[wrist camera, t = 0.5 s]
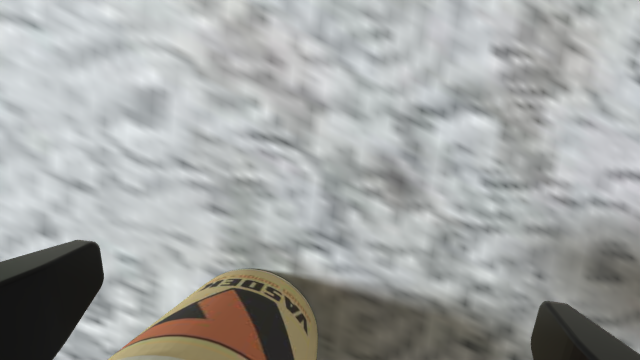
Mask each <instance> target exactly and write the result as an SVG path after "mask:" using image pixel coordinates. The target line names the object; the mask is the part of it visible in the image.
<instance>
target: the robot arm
mask: <svg viewBox="0 0 640 360" xmlns="http://www.w3.org/2000/svg"><path fill="white" fill-rule="evenodd" d="M103 280H104V273H103V266H102V259H101V253H100V248H99V246H98V244H97V243H95V242H92V241H84V240H75V241H71V242H68V243H64V244H61V245H57V246H54V247H50V248H47V249H44V250H40V251H37V252H33V253H30V254H26V255H23V256H19V257H16V258H12V259H9V260H6V261H2V262H0V360H53V359H54V357H55V356H56V355H57V353H58V352H59V351H60V349H61V348H62V346H63V345H64V344H65V342H66V341H67V339H68V338H69V336H70V335H71V333H72V331H73V330H74V328H75V327H76V325H77V324H78V322H79V321H80V319H81V317H82V316H83V314H84V313H85V311H86V310H87V308H88V307H89V305H90V303H91V302H92V300H93V299H94V297H95V296H96V294H97V293H98V291H99V289H100V288H101V286H102V283H103ZM531 350H532V355H533V360H640V354H638V353H637V352H635V351H634V350H633V349H631V348H630V347H628V346H627V345H625V344H624V343H623V342H621V341H620V340H618V339H617V338H615V337H614V336H612V335H611V334H610V333H608V332H607V331H605V330H604V329H602V328H601V327H600V326H598V325H597V324H595V323H594V322H592V321H591V320H590V319H588V318H587V317H585V316H584V315H582V314H581V313H579V312H578V311H577V310H575V309H574V308H572V307H571V306H569V305H568V304H565V303H558V302H551V301H545V302H543V303H542V304H541V306H540V308H539V311H538V315H537V318H536V322H535V325H534V329H533V333H532V337H531Z"/></svg>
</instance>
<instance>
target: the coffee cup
mask: <svg viewBox="0 0 640 360" xmlns="http://www.w3.org/2000/svg"><path fill="white" fill-rule="evenodd" d="M317 344H318V332H317V325H316V320H315V317H314V314H313V312H312V309H311V307H310V305H309V304H308V302H307V300H306V299H305V298H304V296H303V295H302V294H301V293H300V292H299V290H297V289H296V288H295V287H294V286H293V285H292V284H291V283H289V282H288V281H286V280H285V279H283V278H281V277H279V276H277V275H275V274H273V273H270V272H266V271H263V270H257V269H238V270H233V271H229V272H226V273H224V274H221V275H219V276H217V277H215V278H214V279H212V280H211V281H209V282H208V283H206V284H205V285H203V286H202V287H201V288H199V289H198V290H197V291H195V292H194V293H193V294H191V295H190V296H189V297H187V298H186V299H185V300H184V301H182V302H181V303H180V304H178V305H177V306H176V307H174V308H173V309H172V310H171V311H169V312H168V313H167V314H165V315H164V316H163V317H161V318H160V319H159V320H158V321H156V322H155V323H154V324H152V325H151V326H150V327H148V328H147V329H146V330H145V331H143V332H142V333H141V334H140V335H138V336H137V337H136V338H134V339H133V340H132V341H131V342H129V343H128V344H127V345H126V346H124V347H123V348H122V349H121V350H119V351H118V352H117V353H116V354H114V355H113V356H112V357H110V358H109V359H108V360H316V358H317Z"/></svg>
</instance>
